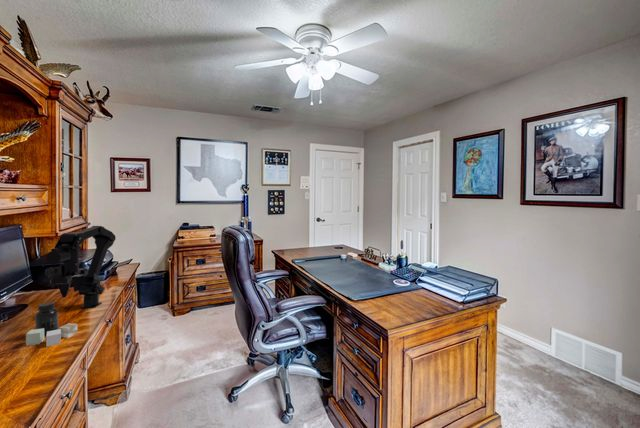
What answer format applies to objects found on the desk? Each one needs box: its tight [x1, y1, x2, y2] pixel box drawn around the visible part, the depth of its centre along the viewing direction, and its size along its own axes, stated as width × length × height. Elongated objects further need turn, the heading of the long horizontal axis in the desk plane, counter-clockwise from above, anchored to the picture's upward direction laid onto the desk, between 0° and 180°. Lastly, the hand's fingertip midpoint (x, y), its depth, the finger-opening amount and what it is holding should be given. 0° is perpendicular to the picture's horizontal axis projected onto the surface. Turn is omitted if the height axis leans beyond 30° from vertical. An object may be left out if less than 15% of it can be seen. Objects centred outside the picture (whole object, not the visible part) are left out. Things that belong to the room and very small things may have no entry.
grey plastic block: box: [45, 328, 62, 348], centre depth 113 cm, size 5×4×4 cm
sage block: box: [25, 328, 45, 347], centre depth 112 cm, size 4×4×4 cm
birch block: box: [58, 322, 78, 339], centre depth 119 cm, size 4×4×4 cm
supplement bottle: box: [34, 301, 59, 337], centre depth 120 cm, size 7×7×12 cm
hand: (70, 294), depth 135 cm, fingers open, 9 cm apart
